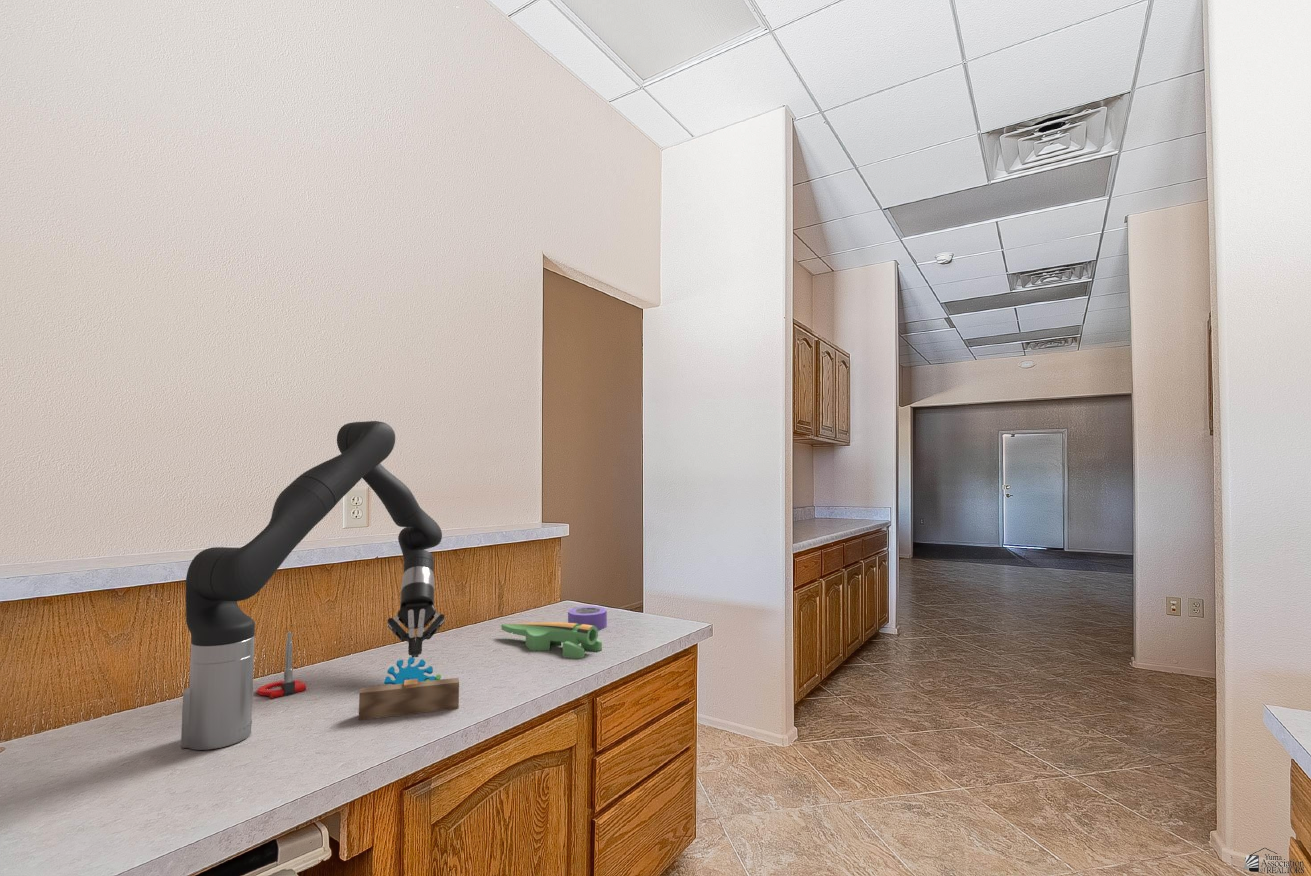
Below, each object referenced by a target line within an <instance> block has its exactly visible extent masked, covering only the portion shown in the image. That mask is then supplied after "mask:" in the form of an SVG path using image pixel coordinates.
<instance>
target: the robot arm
mask: <svg viewBox="0 0 1311 876" xmlns="http://www.w3.org/2000/svg"><path fill="white" fill-rule="evenodd" d="M336 444H337V449H338V451H339V452H340V454H339V455H336V456H334V457H333V458H330V459H329V460H328V459H327V460H326V461H324V462H321V463H319V464H317V465H316V466H314V467H312V468H310V469H308V470H306V471H304V472H303V473H301V474H299V476H297V477H296V478H295V479H294V480H292V482H291V483H289V485H287V487H285V488H284V489H283V490H282V491H281V492H280V493H279V495H278V496H277V498H276V500H275V501H274V504H273V507H272V512H271V517H270V520H269V522H268V524H267V526H265V528H263V529H262V531H261V532H259V533H258V534H257V535H256V536H255V537H254V538H253V539H252V540H250V541H249V542H248V543H246V544H245V545H243V546H241V547H225V546H223V547H222V546H218V547H217V546H215V547H209V548H205V549H204V550H201V551H200V552H199V553H197V554H196V555H195V556H194V558H193V559H192V560H191V562H190V564H189V566H188V568H187V572H186V576H185V578H186V579H185V621H186V626H187V629H188V630H189V633H190V636H191V637H190V638H191V639H190V662H189V666H190V667H189V668H190V669H189V686H188V687H187V688H184V690H183V692H182V707H181V708H182V712H181V713H182V715H181V734H180V748H181V749H183V748H186V749H187V748H188V749H190V750H197V751H204V750H205V751H206V750H216V749H219V748H220V749H221V748H224V747H229V746H232V745H234V744H237V743H240V742H242V741H243V740H245V739H247V738H248V737H249V736H250V735H251V733H252V723H253V717H252V716H253V693H254V692H253V691H254V689H253V688H254V668H255V667H254V663H255V638H256V637H255V635H256V625H255V620H254V619H253V618H252V617H250V616H249V615H247V613H245V612H243V610H242V609H241V608H240V606H239V604H238V602H240V601H241V602H242V601H245V600H248V599H251V598H252V597H254V596H255V595H256V594H258V593H259V592H260V591H261V590H262V589H263V588H264V587H265V585H266V584H267V583H268V582H269V581H270V579H271V578H272V577H273V576H274V574H275V573H276V572H277V570H278V569H279V567H280V566H282V564H283V562H285V560H286V559H287V558H288V556H290V554H291V552H292V551H293V550H294V549H295V548H296V547H297V545H299V544H300V542H302V540H303V539H304V538H305V537H306V536H307V535H308V534H309V533H310V532H311V531H312V530H313V529H314V528H315V527H316V526H317V525H318V524H319V523H320V522H321V521H322V520H323V519H324V518H325V517H326V516H327V515H328V514H329V513H330V512H331V511H332V510H333V509H334V508H335V506H336V505H337V504H338V503H339V502H340V500H341V499H343V498H344V496H346V495H347V494H348V493H349V492H350V491H351V490H352V489H353V488H354V487H355V486H356V485H357V484H358V483H359V482H360V481H361V480H364V482H365V483H366V484H367V485H368V486H369V487H370V488H371V489H372V491H373V492H374V493H375V494H376V496H377V497H378V499H379V500H380V501H381V503H382V504H383V506H384V507H385V509H386V511H387V512H388V514H389V516H390V517H391V519H392V520H393V522H394V524H395V525H396V526H398V527H401V528H402V529H401V530H400V532H399V534H398V536H397V539H398V545H399V548H400V550H401V553H402V559H403V576H402V580H401V587H400V588H401V589H400V604H399V610H398V611H397V613H396V615H395V616H394V617H389V618H387V628H388V629H389V630H390V631H391V632H392V633H393V634H394V635H395V636H396V637H397V638H398V639H399V640H400V641H401V642H407V643H408V645H407V646H408V647H407V649H408V650H407V651H408V652H407V653H408V656H410V657H412V658H419V655H422V653H423V642H424V641H425V640H430V639H431V638H432V637H433V636H434V635H435V634H436V633H437V632H438V631H439V630H440V628H441V627H442V626H443V625H444V624H445V615H444V614H443V613H441V614H440V613H437V609H436V608H435V576H434V567H435V565H434V564H435V559H434V555H433V553H431V552H430V551H428V549H431V548H434V547H437V546H438V545H440V543H441V542H442V539H443V534H442V533H443V532H442V528H441V527H440V525H439V524H438V523H437V521H435V519H433V518H432V517H431V516H430V515H429V514H428V513H426V511H424V510H423V509H422V507H420V505H419V503H418V501H417V499H416V498H415V496H414V494H413V493H412V491H411V489H410V488H409V487H408V486H407V485H406V484H405V483H404V482H403V481H402V480H400V479H399V478H397V477H396V476H395V475H394V474H392V473H391V472H390V471H389V470H388V469H386V468H385V466H383V464H381V463H382V462H383V461H384V460H386V459H387V458H388V457H390V454H391V453H392V451H393V450H394V448H395V444H396V433H395V430H394V429H393V427H392V426H391V425H390V424H388V423H386V422H383V421H378V420H370V421H369V420H368V421H353V422H348V423H346V424H344V425H342V426H341V427H340V428H339V430H338V432H337V436H336ZM431 621H432V623H431ZM400 623H401V624H402V625H403V626H404V627H405V628H406V629H408V632H407V631H405V630H404V628H403V627H402V626H401V625H400ZM430 623H431V624H430ZM429 624H430V625H429ZM428 625H429V626H428ZM427 626H428V627H427ZM426 627H427V629H425V628H426ZM416 629H417V630H416ZM415 630H416V632H417V633H416V634H415ZM415 635H416V637H415Z"/></svg>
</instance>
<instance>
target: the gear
mask: <svg viewBox="0 0 1311 876" xmlns="http://www.w3.org/2000/svg"><path fill="white" fill-rule="evenodd" d="M415 661H416V657H414V658H412V656H410V657H408V660H407V666H406V667H402V666H403V665H404V659H398V660H397V661H396V663H395V664H396V666H397V668H398V672H395V670H396V669H395V667H394V666H392V665H391V666H390V667H389V668H388V669H387V674H388V675H391V676H393V677H394V680H393V679H392V678H391V677H390V676H385V678H384V681H383V684H384V685H394V684H403V683H404V681H405V680H410V679H418V682H422V681H432V680H441V678H442V675H441V674H439V673H438V674H436V675H431V674H432V673H433V671H434V669H433V666H428V667H426V668H423V667H425V666H426V663H427V662H426V661H425V660H424V659H423V658H422V659H420V660H419V662H418V663H417V664H415V665H414V666H412V665H413V664H414V663H415ZM420 668H422V669H420ZM425 673H426V674H428V675H429V676H428V675H425ZM430 675H431V676H430Z"/></svg>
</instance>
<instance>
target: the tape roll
mask: <svg viewBox="0 0 1311 876" xmlns="http://www.w3.org/2000/svg"><path fill="white" fill-rule="evenodd" d="M607 610H608V609H607V608H605V607H602V606H594V605H593V606H592V605H588V606H587V605H585V606H576V607H573V608H570V609H569V610H568V612H567V623H577V624H580V625H582V624H585V625H592V626H596V627H597V629H598V631H600V630H603V629H605V628H607V626H608V619H607V618H608V614H607V613H608V612H607Z"/></svg>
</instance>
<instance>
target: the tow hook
mask: <svg viewBox="0 0 1311 876" xmlns="http://www.w3.org/2000/svg"><path fill="white" fill-rule="evenodd" d="M284 664H285V666H284V667H285V668H284V670H283V680H280V681H275V682H270V683H267V684H264V685H261V686H259V687H258V688H257V689H256V693H257V695H260V696H268V697H269V698H270V699H275V698H279V696H280V697H285V696H284V695H286V696H289V694H290V695H293V693H294V694H295V693H299V692H303V691H304V692H305V691H306V690H307V684H306V683H304V682H303V681H301V680H298V679H293V675H294V671H293V670H294V668H293V641H292V631H287V633H286V642H285V663H284ZM277 686H278V687H281V688H280V689H273V687H274V688H277ZM267 689H268V690H267Z"/></svg>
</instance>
